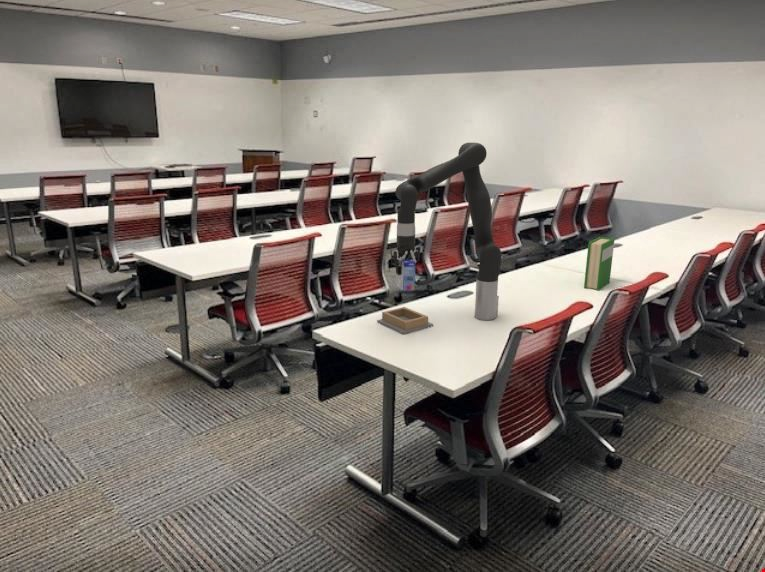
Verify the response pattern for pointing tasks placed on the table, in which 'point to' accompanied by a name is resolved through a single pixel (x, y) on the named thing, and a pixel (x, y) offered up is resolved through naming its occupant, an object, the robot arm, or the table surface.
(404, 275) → the ink cartridge box
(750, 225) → the table surface
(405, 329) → the pocket holder
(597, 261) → the hardback book
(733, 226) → the table surface
